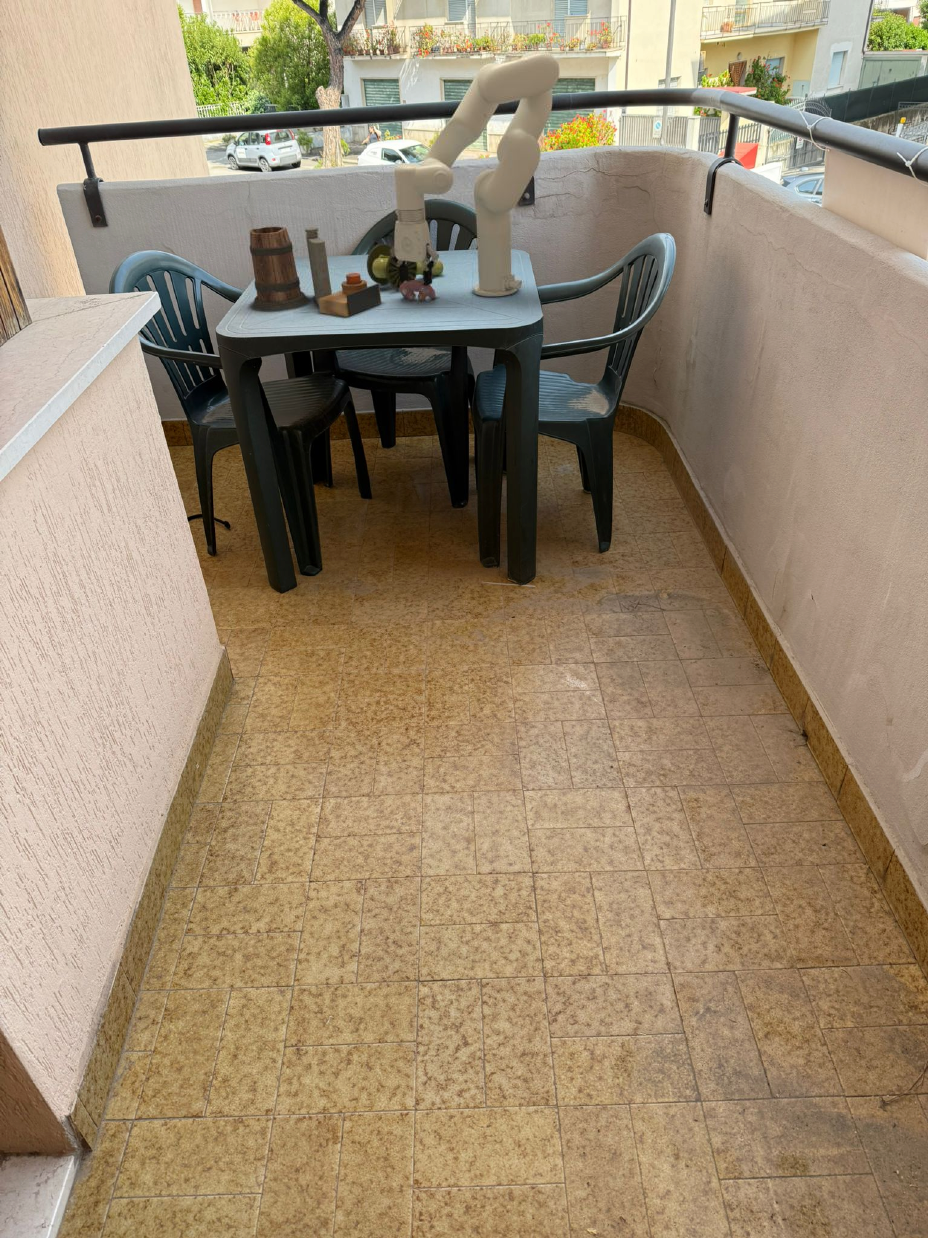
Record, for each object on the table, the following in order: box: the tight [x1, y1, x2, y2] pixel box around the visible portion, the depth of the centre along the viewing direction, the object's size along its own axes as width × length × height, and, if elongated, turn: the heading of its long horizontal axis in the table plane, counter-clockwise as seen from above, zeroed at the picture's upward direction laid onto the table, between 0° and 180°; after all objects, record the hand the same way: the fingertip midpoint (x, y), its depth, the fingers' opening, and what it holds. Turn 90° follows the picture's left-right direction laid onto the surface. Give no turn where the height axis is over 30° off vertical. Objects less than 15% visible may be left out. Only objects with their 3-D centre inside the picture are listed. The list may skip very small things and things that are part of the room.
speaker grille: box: [346, 283, 382, 316], centre depth 234 cm, size 1×13×5 cm, turn 144°
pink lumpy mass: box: [398, 279, 437, 302], centre depth 240 cm, size 10×5×7 cm, turn 73°
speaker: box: [318, 279, 382, 318], centre depth 236 cm, size 10×15×6 cm, turn 144°
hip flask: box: [304, 226, 333, 306], centre depth 239 cm, size 16×4×20 cm, turn 17°
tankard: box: [249, 225, 310, 312], centre depth 243 cm, size 24×17×20 cm
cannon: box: [366, 243, 444, 291], centre depth 254 cm, size 25×12×11 cm, turn 129°
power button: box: [345, 272, 362, 285], centre depth 237 cm, size 4×4×2 cm
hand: (416, 282), depth 238 cm, fingers open, 8 cm apart
